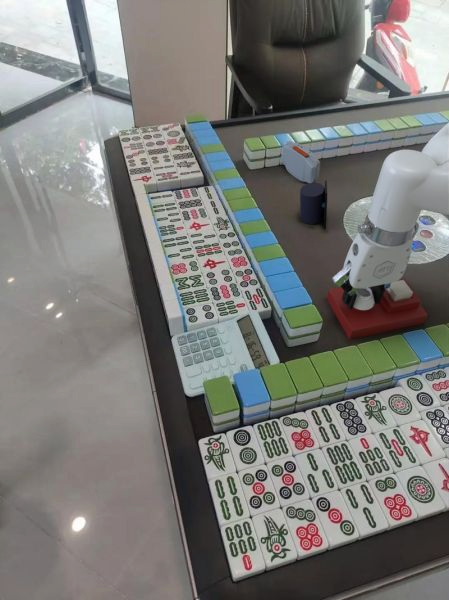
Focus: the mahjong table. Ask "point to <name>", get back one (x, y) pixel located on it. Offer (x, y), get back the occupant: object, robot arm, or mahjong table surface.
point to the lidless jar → (364, 299)
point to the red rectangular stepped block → (377, 314)
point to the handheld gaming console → (300, 162)
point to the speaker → (313, 203)
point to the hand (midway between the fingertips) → (360, 300)
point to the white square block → (399, 291)
